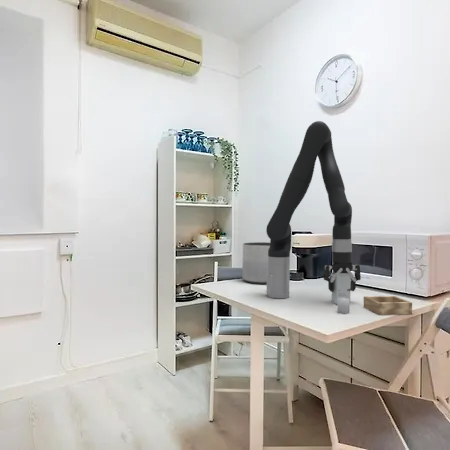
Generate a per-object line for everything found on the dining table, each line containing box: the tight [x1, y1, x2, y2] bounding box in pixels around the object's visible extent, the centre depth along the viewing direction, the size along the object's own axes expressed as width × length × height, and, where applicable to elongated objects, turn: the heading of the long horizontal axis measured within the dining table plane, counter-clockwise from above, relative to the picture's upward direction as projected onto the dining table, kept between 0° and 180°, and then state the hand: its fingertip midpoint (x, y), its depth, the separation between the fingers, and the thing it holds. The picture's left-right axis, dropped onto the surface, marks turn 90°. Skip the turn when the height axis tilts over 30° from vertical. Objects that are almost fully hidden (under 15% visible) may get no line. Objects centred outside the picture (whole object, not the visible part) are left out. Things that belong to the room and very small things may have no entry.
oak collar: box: [363, 295, 413, 316], centre depth 123 cm, size 12×10×4 cm
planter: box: [241, 241, 270, 285], centre depth 180 cm, size 23×23×20 cm
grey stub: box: [337, 297, 351, 315], centre depth 120 cm, size 4×4×5 cm
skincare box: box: [331, 271, 351, 305], centre depth 134 cm, size 6×4×12 cm
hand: (342, 291), depth 134 cm, fingers open, 8 cm apart
